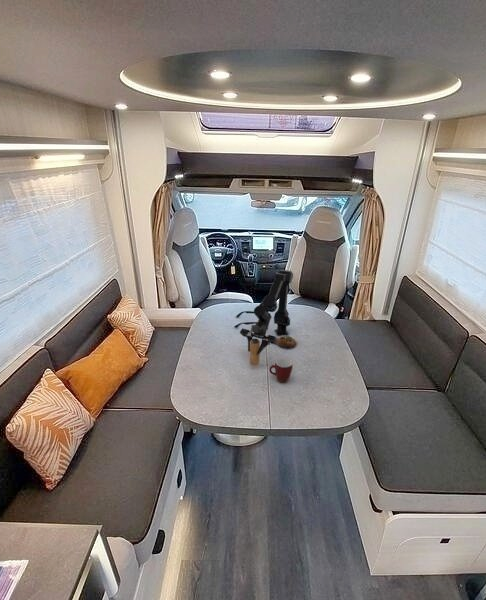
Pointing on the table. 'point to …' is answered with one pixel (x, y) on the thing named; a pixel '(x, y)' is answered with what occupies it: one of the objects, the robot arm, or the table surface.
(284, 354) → the table surface
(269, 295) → the robot arm
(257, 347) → the pepper mill
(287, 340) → the bread roll
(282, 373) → the mug
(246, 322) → the glasses
